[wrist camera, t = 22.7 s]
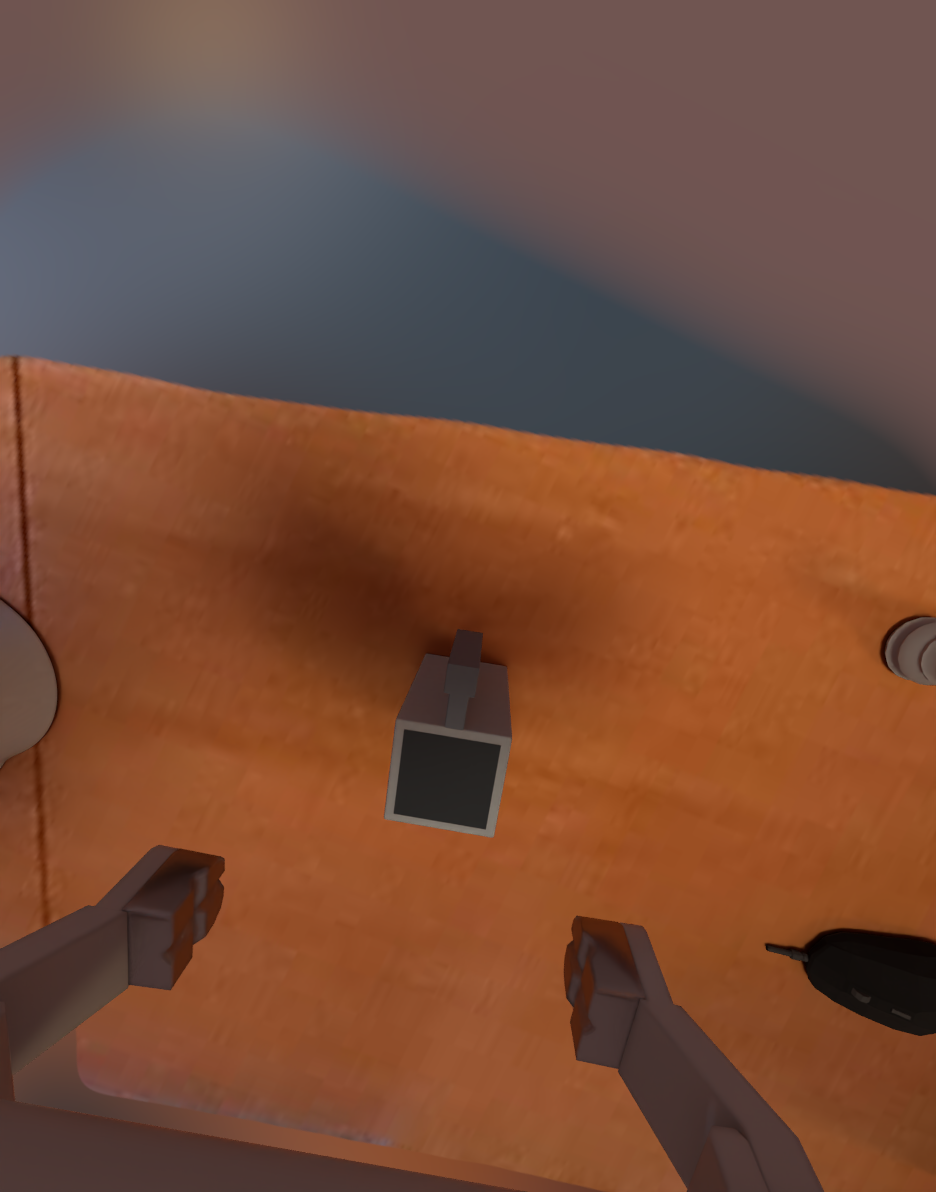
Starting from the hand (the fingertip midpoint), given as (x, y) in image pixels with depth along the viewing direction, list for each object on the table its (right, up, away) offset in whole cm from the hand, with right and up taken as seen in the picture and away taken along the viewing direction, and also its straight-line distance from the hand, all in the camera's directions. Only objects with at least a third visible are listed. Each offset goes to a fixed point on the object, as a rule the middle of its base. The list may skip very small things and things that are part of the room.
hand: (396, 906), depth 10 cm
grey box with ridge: (0, -4, +18) cm, 19 cm away
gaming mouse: (+33, -22, +26) cm, 47 cm away
